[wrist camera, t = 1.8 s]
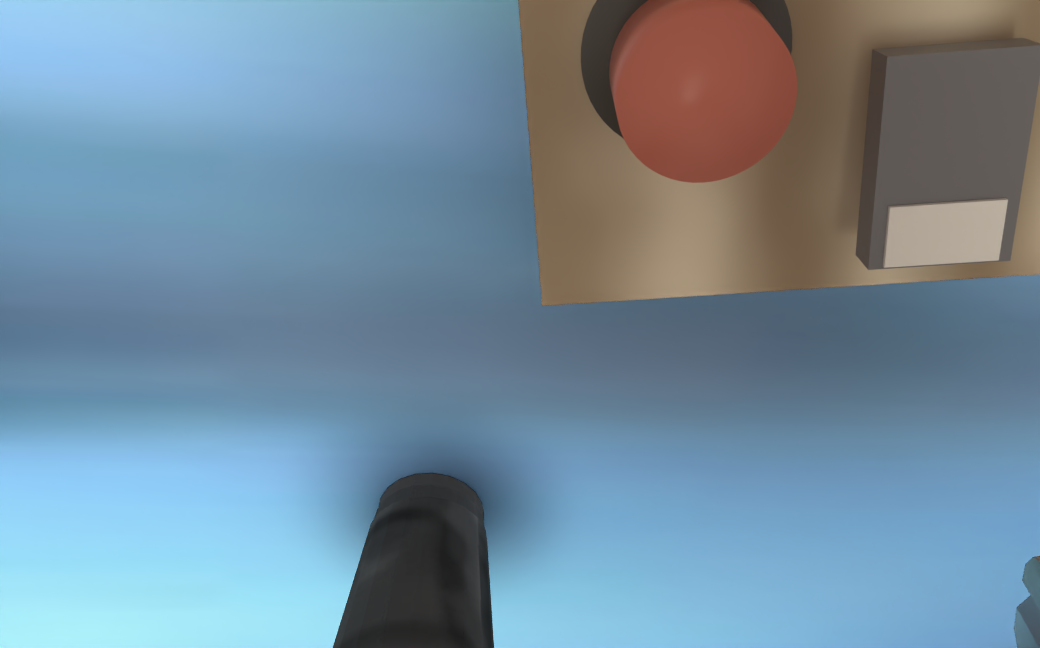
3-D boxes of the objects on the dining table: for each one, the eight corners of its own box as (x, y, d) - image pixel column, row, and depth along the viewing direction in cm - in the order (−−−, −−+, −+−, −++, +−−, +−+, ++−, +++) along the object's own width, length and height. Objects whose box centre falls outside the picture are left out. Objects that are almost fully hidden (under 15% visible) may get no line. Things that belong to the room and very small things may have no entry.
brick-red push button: (781, -24, 24) (805, 1, 22) (769, 139, 26) (789, 176, 24) (607, -10, 24) (613, 16, 22) (610, 151, 26) (618, 188, 24)
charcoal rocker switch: (1022, 37, 25) (1047, 45, 24) (991, 245, 28) (1012, 262, 27) (872, 49, 25) (889, 57, 24) (855, 254, 28) (869, 271, 27)
